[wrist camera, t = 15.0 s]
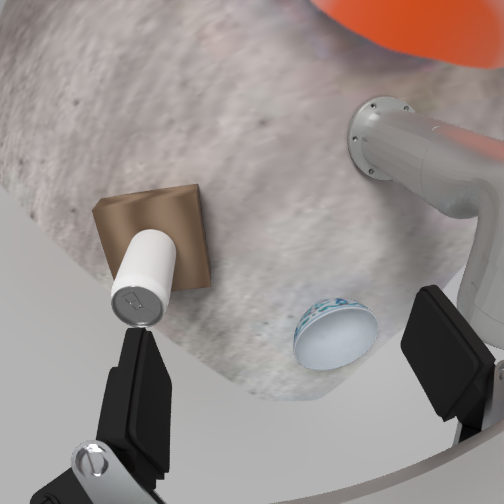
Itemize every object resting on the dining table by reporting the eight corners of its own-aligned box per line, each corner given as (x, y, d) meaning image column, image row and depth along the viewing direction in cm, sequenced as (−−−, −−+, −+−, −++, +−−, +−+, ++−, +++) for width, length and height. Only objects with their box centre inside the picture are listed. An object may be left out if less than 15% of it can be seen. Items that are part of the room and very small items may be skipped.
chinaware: (365, 324, 59) (379, 351, 52) (294, 349, 60) (303, 380, 53) (358, 266, 51) (377, 294, 45) (275, 296, 52) (284, 328, 46)
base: (197, 183, 41) (196, 194, 37) (210, 271, 48) (210, 286, 45) (101, 198, 40) (91, 210, 36) (125, 280, 47) (119, 296, 44)
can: (147, 276, 43) (132, 337, 32) (120, 241, 39) (95, 297, 29) (185, 257, 42) (179, 318, 32) (160, 219, 38) (143, 272, 28)
